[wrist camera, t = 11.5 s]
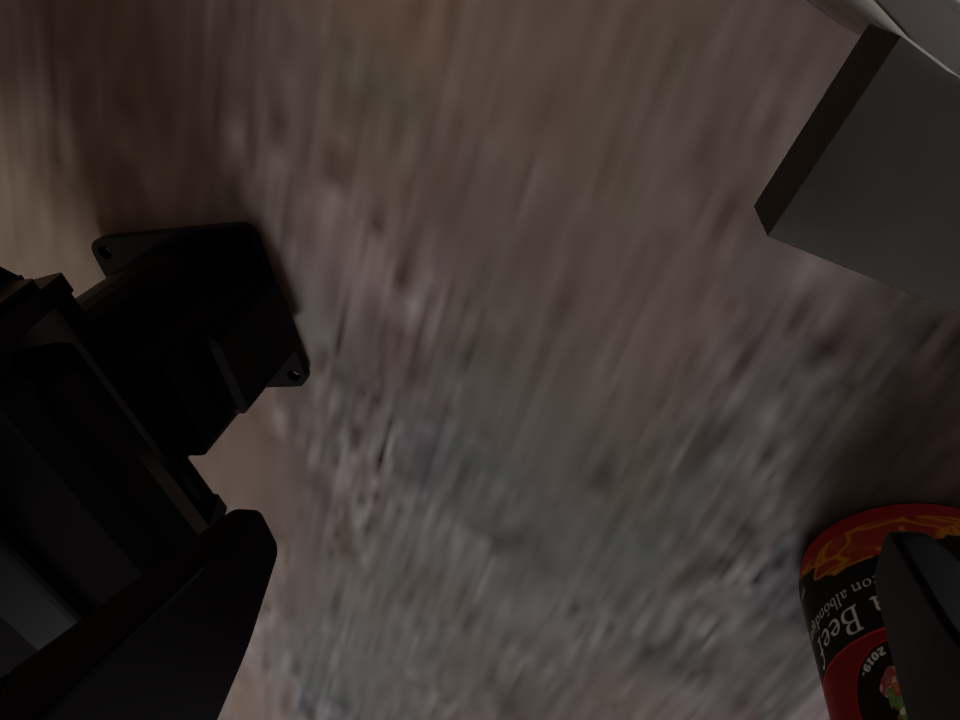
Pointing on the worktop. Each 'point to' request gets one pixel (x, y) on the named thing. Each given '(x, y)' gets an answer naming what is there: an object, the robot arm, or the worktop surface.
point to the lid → (953, 5)
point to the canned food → (861, 606)
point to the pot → (881, 153)
